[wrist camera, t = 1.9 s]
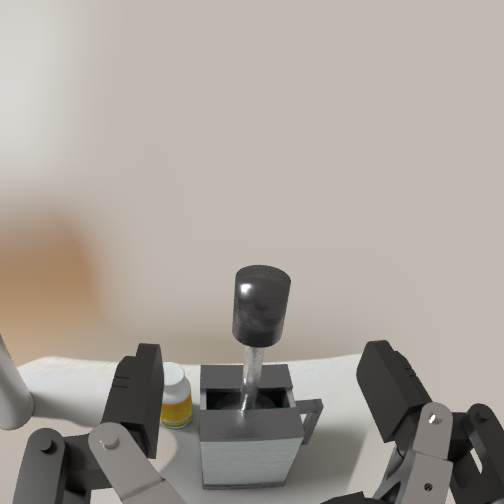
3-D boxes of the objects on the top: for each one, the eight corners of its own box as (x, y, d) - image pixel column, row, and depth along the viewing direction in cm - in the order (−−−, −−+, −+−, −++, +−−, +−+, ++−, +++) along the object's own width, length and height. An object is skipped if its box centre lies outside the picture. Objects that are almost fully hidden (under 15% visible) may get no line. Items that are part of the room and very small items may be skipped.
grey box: (203, 489, 30) (197, 440, 24) (202, 427, 39) (198, 363, 33) (307, 482, 32) (338, 431, 26) (294, 424, 40) (314, 361, 35)
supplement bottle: (149, 412, 40) (138, 369, 36) (177, 395, 44) (171, 351, 39) (172, 436, 37) (164, 396, 33) (200, 417, 40) (198, 374, 36)
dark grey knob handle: (214, 445, 27) (214, 305, 19) (212, 395, 33) (214, 254, 26) (282, 443, 28) (322, 306, 20) (273, 394, 34) (299, 257, 27)
